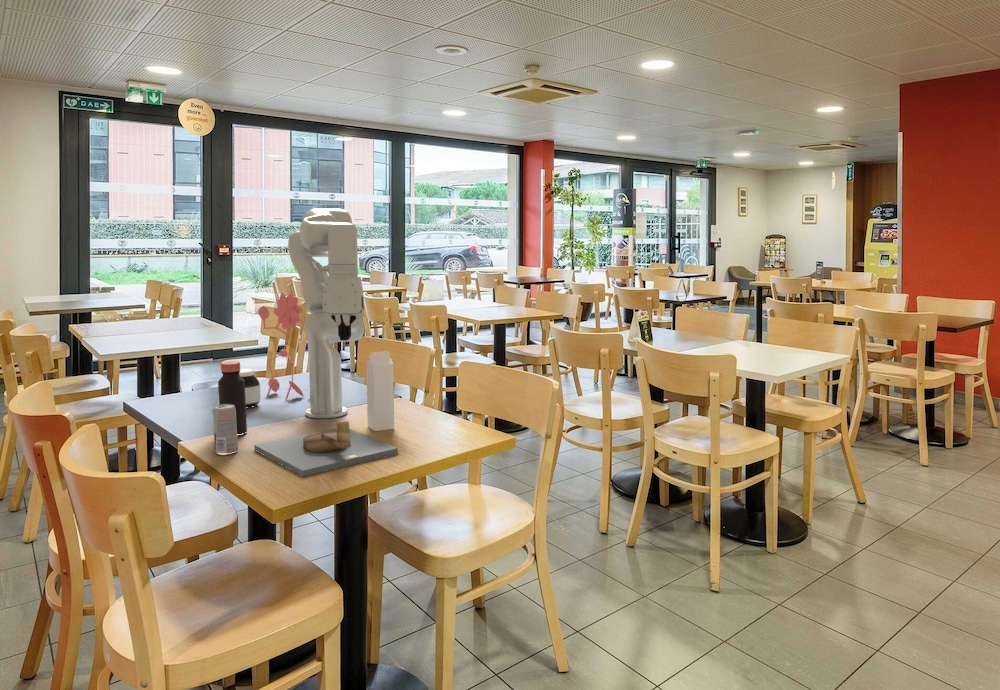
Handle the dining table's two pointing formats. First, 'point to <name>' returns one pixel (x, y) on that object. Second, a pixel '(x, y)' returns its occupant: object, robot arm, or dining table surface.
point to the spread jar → (250, 387)
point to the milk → (380, 391)
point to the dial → (329, 439)
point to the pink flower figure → (286, 315)
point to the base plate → (324, 453)
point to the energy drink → (225, 428)
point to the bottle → (233, 392)
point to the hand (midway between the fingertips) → (344, 339)
